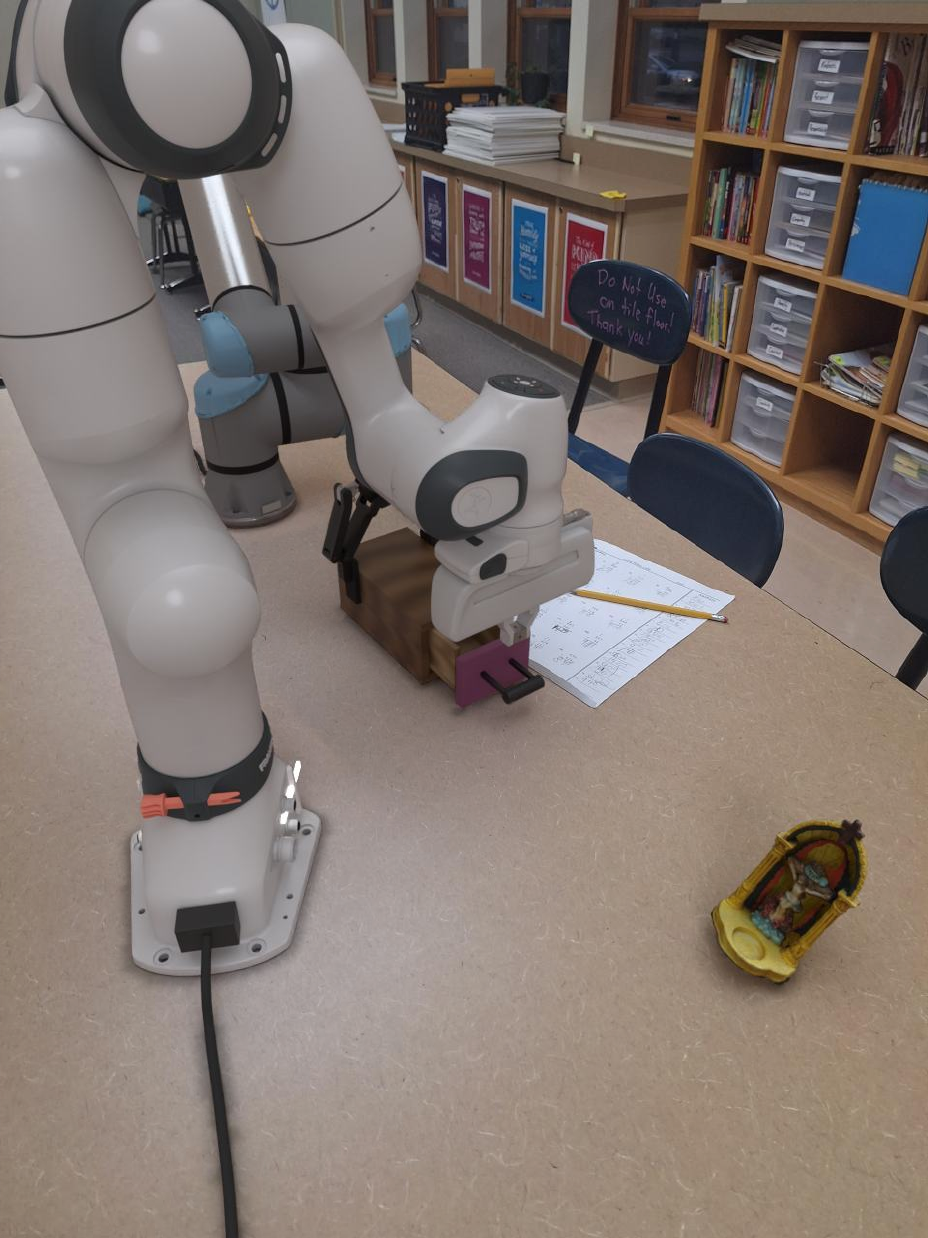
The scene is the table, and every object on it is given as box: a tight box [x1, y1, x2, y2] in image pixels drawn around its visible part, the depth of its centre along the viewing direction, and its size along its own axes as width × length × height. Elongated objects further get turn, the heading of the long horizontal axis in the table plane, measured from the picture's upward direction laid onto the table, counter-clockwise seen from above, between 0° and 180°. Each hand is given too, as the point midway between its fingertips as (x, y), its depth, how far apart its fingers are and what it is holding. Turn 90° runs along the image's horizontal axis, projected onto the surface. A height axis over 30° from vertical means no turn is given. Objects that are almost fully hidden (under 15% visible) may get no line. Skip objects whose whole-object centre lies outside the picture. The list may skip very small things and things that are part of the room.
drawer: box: [429, 625, 546, 709], centre depth 106 cm, size 25×10×7 cm, turn 36°
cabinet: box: [336, 526, 442, 686], centre depth 113 cm, size 20×11×9 cm, turn 36°
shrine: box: [710, 818, 868, 986], centre depth 72 cm, size 12×8×15 cm
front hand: (514, 639), depth 97 cm, fingers closed
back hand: (392, 584), depth 117 cm, fingers closed on cabinet, 11 cm apart
